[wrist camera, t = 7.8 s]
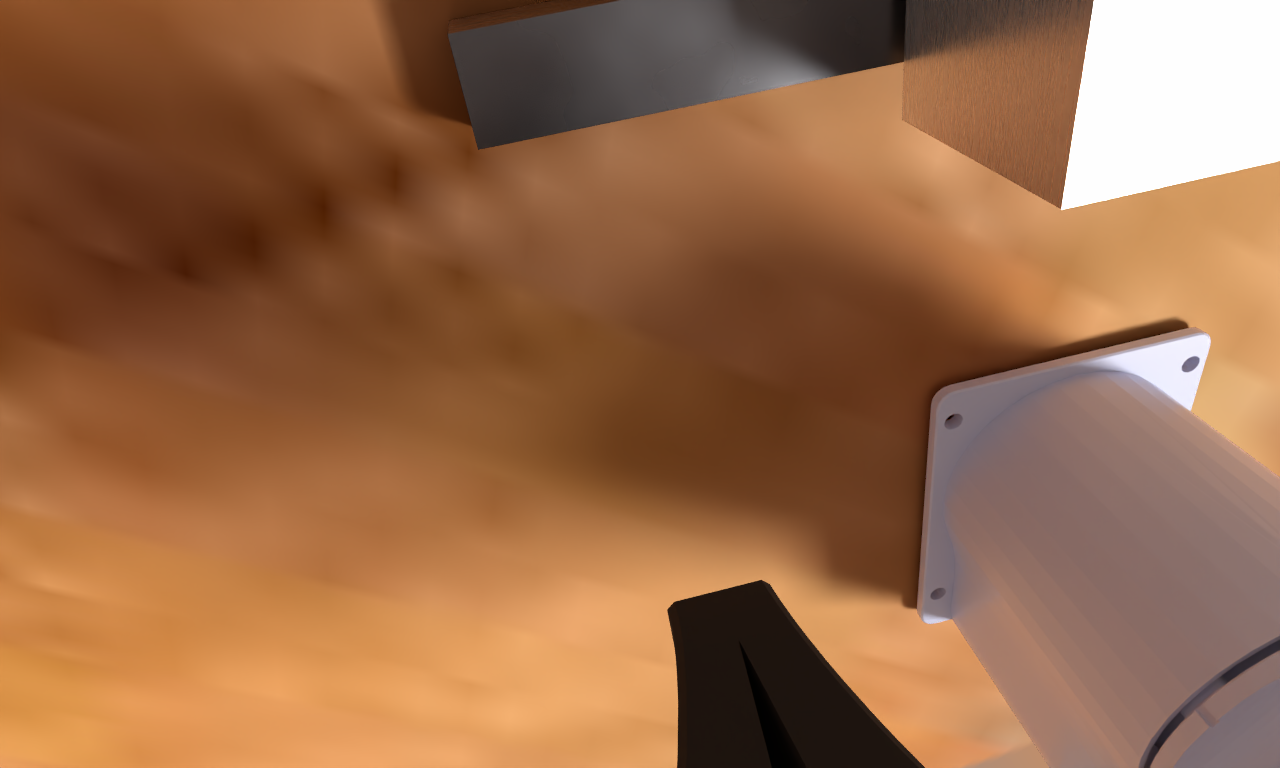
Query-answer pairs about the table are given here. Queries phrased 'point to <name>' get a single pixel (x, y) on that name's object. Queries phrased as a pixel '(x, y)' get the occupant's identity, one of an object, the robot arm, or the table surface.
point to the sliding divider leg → (1097, 89)
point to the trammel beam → (654, 56)
